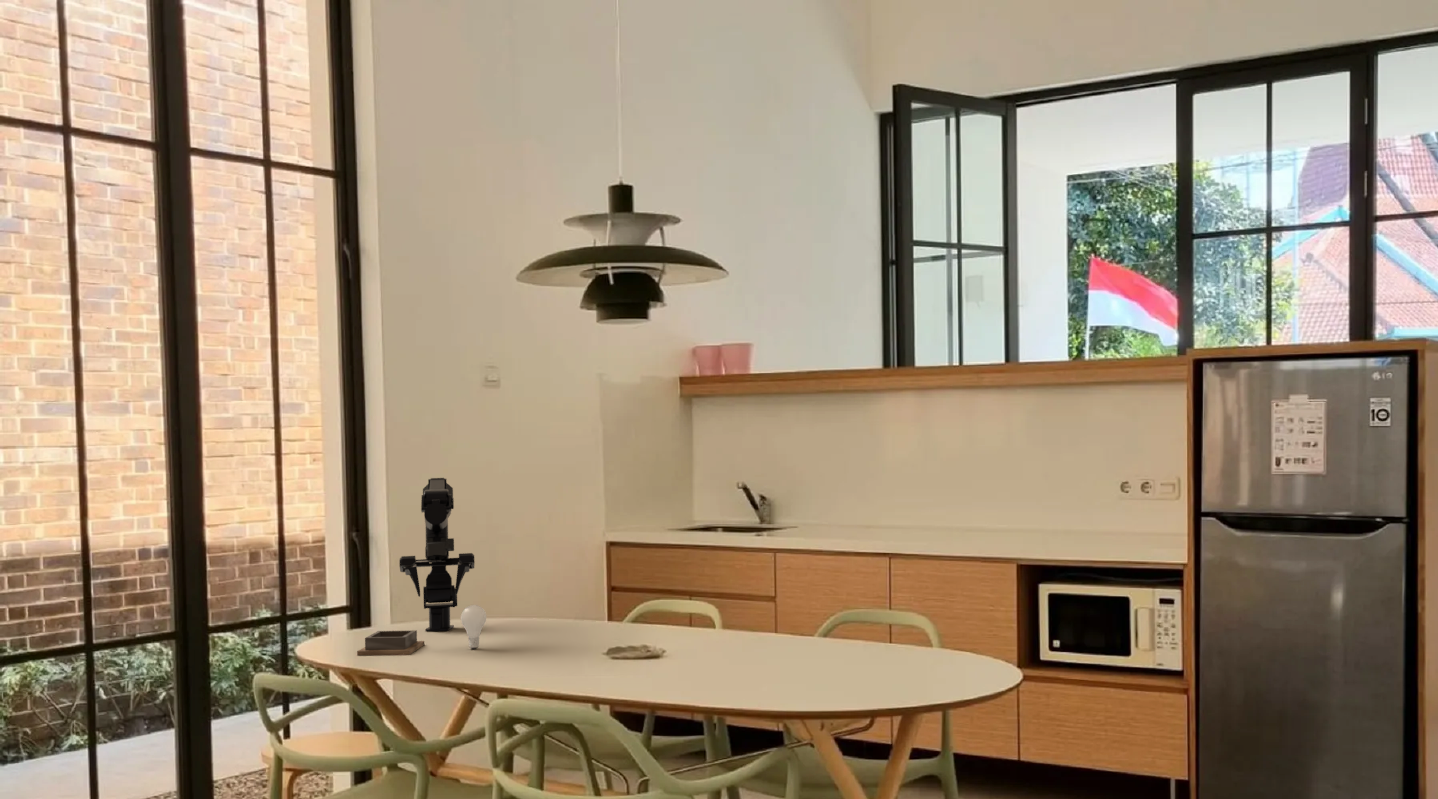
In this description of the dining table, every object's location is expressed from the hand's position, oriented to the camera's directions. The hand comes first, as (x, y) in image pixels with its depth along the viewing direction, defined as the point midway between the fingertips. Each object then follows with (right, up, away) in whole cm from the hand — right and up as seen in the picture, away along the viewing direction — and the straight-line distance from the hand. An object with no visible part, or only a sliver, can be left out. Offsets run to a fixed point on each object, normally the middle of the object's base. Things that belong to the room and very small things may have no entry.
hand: (437, 595), depth 304 cm
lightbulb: (+10, -13, -5) cm, 17 cm away
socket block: (-11, -13, -4) cm, 17 cm away
